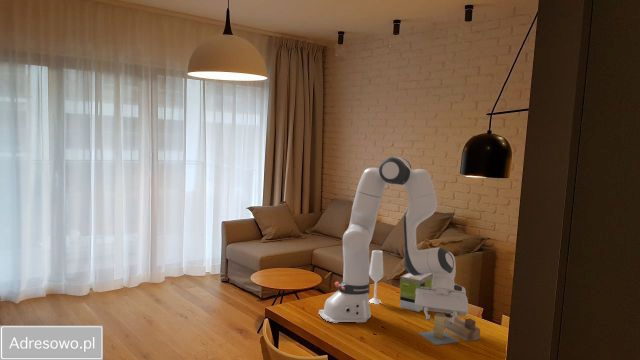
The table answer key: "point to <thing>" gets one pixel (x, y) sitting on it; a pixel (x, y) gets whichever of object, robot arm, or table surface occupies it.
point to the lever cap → (439, 325)
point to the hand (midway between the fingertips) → (439, 321)
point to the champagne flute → (376, 272)
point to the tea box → (412, 289)
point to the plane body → (462, 328)
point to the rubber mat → (436, 341)
